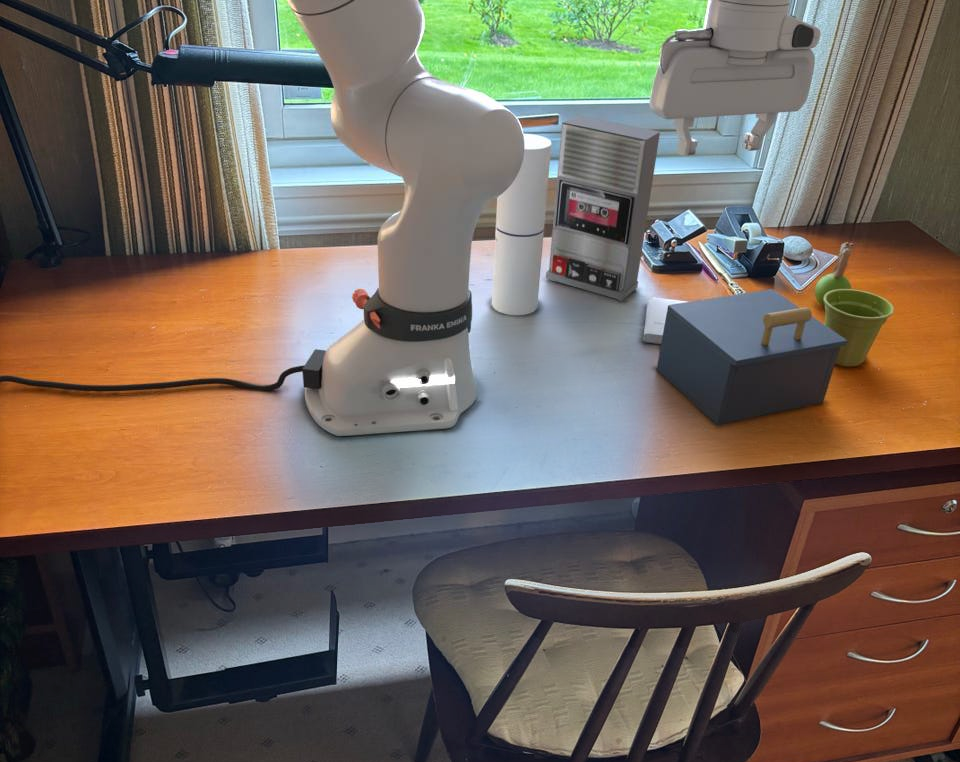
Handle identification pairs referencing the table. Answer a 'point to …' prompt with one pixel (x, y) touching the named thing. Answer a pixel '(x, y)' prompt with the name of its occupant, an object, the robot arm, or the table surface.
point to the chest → (741, 377)
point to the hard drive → (656, 318)
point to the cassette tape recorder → (601, 205)
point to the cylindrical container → (521, 232)
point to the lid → (756, 326)
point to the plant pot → (855, 321)
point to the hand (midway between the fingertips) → (718, 151)
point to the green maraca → (835, 275)
